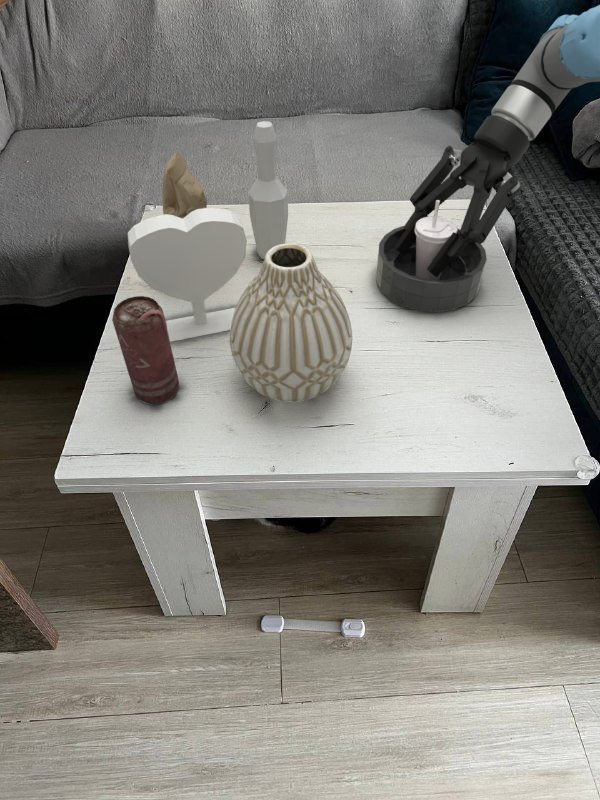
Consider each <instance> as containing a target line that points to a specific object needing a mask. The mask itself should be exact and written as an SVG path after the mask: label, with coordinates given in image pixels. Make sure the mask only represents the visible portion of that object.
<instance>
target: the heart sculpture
mask: <svg viewBox="0 0 600 800" xmlns="http://www.w3.org/2000/svg"><path fill="white" fill-rule="evenodd" d="M247 242H248V241H247V235H246V233H245V229H244V227H243V224H242V222H241V219H240V217H239V215H238V214H236V213H235V212H233V211H232V210H229V209H224V208H219V207H217V208H216V207H215V208H214V207H207V208H203V209H196V210H194V211H192V212H191V213H189V214H188V215H187V216H186V217H184V218H183V219H182V218H179V217H176V216H174V215H168V214H164V215H163V214H160V215H159V214H158V215H155V216H152V217H148V218H146V219H143V220H142V221H140V222H138V223H136V224H135V225H133V226H132V227H131V228H130V230H128V232H127V245H128V252H129V257H130V262H131V263H132V266H133V268H134V270H135V273H136V274H137V277H138V278H140V279H141V280H142V281H143V282H144V283H145V284H147V285H148V286H149V287H150V288H151V289H153V290H155V291H157V292H159V293H162V294H164V295H167V296H169V297H170V298H175V299H179V300H182V301H187V302H190V303H191V307H192V314H193V315H191V316H190V315H189V316H185V317H179V318H173V319H168V320H165V321H166V324H167V331H168V335H169V340H170V343H172V342H176V341H182V340H187V339H191V338H192V339H193V338H197V337H202V336H206V335H211V334H217V333H221V332H226V331H227V332H228V331H230V328H231V322H232V318H233V314H234V311H235V308H236V307H231V308H226V309H221V310H216V311H211V312H206V307H205V300H207V298H209V297H211V296H212V295H213V294H215V293H216V292H217V291H220V289H222V288H223V287H225V285H226V284H227V283H228V282H230V281H231V280H232V279H233V277H235V275H237V274H238V271H239V269H240V267H241V266H242V264H243V262H244V261H245V258H246V252H247Z"/></svg>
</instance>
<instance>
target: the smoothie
mask: <svg viewBox="0 0 600 800" xmlns="http://www.w3.org/2000/svg"><path fill="white" fill-rule="evenodd" d="M439 204H440V200H436V204H435V210H434V211H433V215H430V216H429V215H428V217H424V218H422V219H420V220H418V221H417V223H416V226H415V234H416V277H419V278H423V279H432V280H439V278H440V276H441V273H442V272H441V273H440V274H439V276H438V277H436V276H434V275H433V274H432V273H431V272H429V271H428V270H427V268H428V267H429V265H430V264H431V263H432V261H433V260H434V258H435V257H436V256H437V254H438V253H439V251H440V250H441V249H442V247H443V246H444V244H445V243H446V242H447V240H448V239H449V238H450V236H451V235H452V233H453V232H454V233H456V234H457V228H458V226H457V224H456V223H455V222H454V221H453V220H452V219H449V218H447V217H444V216H440V215H438V214H439V209H440V206H439Z"/></svg>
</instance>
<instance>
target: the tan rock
mask: <svg viewBox="0 0 600 800" xmlns="http://www.w3.org/2000/svg"><path fill="white" fill-rule="evenodd" d="M207 204H208V199H207V197H206V194H205V190H204V187H203V186H202V184H201V182H199V180H197V179H196V177H195V175H193V173H192V172H191V170H190V169H189V168H188V165H187V161H186V157H185V156H184V155H183V154H182V153H180V152H175V153H174V154H172V156H171V158H169V159H168V161H167V163H166V164H165V167H164V172H163V178H162V215H164V214H168V215H174V216H176V217H179V218H182V219H183V218H184V217H186V216H187V215H188V214H189V213H191V212H192V211H194V210H196V209H203V208H208V205H207Z"/></svg>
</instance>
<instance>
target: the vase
mask: <svg viewBox="0 0 600 800" xmlns="http://www.w3.org/2000/svg"><path fill="white" fill-rule="evenodd" d="M234 308H235V311H234V314H233V318H232V322H231V328H230V330H229V349H230V353H231V356H232V360H233V363H234V365H235V367H236V369H237V371H238V372H239V374H240V376H241V377H242V378H243V379H244V381H245V382H246V383H247V384H248V385H249V386H250V387H251V388H252V389H253V390H255V391H256V392H257V393H259V394H260V395H262V396H264V397H266V398H269V399H272V400H275V401H280V402H286V403H297V402H303V401H307V400H310V399H314V398H316V397H318V396H320V395H322V394H323V393H325V392H326V391H328V390H329V389H330V388H331V387H333V385H334V384H336V383H337V381H338V380H339V378H340V377H341V376H342V374H343V372H344V371H345V369H346V367H347V365H348V362H349V359H350V356H351V352H352V347H353V328H352V324H351V319H350V316H349V312H348V311H347V307H346V304H345V303H344V301H343V299H342V297H341V296H340V293H339V292H338V291H337V289H336V288H335V286H334V285H333V284H332V283H331V282H330V281H329V280H328V278H327V277H326V276H324V274H323V273H321V271H320V270H319V269H318V266H317V264H316V261H315V259H314V256H313V253H312V252H311V250H309V248H307V247H306V246H304V245H302V244H299V243H292V242H291V243H290V242H289V243H288V242H287V243H286V242H285V244H280V245H277V246H275V247H273V248H271V249H270V250H269V251H268V252H267V253H266V256H265V259H263V262H262V265H261V268H260V270H259V272H258V274H257V275H255V277H254V278H253V279H252V280H251V281H250V283H249V284H248V285H247V287H246V288H245V289H244V291H243V292H242V294H241V296H240V298H239V299H238V301H237V304H236V306H235V307H234Z"/></svg>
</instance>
